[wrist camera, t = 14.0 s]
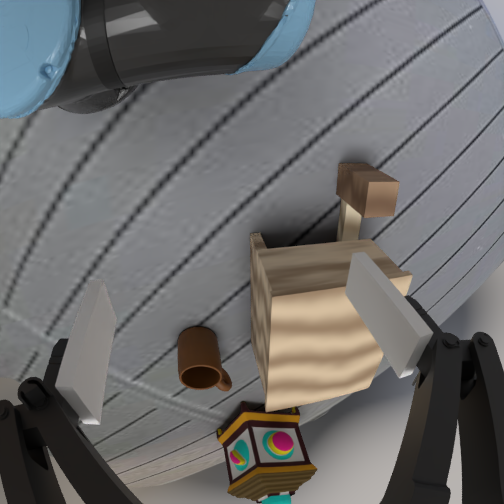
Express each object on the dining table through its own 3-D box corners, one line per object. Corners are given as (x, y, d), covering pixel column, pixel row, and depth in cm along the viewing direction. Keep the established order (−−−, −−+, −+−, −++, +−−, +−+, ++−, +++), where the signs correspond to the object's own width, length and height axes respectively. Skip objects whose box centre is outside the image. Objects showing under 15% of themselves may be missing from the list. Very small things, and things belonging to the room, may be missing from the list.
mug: (239, 348, 60) (248, 386, 52) (212, 366, 61) (217, 403, 53) (197, 318, 54) (201, 358, 46) (169, 339, 55) (169, 378, 47)
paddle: (338, 163, 44) (369, 181, 36) (366, 163, 44) (399, 181, 37) (321, 304, 57) (340, 336, 50) (345, 300, 58) (365, 330, 51)
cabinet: (246, 230, 47) (272, 297, 33) (362, 221, 50) (416, 274, 36) (248, 344, 59) (266, 412, 46) (340, 329, 62) (371, 386, 49)
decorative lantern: (268, 435, 84) (291, 518, 58) (209, 431, 76) (224, 525, 51) (304, 402, 76) (338, 497, 51) (239, 396, 69) (264, 509, 43)
